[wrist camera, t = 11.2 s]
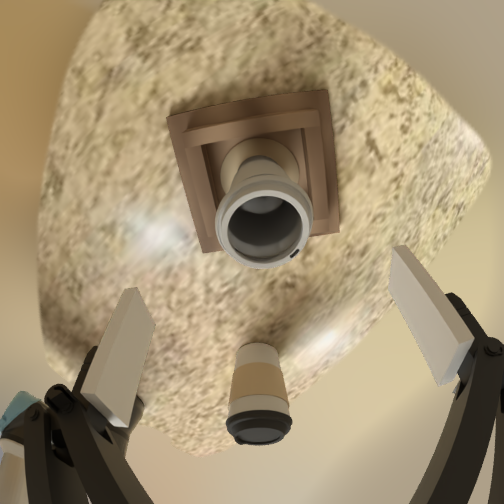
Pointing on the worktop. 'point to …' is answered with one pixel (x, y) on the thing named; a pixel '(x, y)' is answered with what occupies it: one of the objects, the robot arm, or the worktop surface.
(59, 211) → the worktop surface
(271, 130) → the holder
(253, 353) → the coffee cup
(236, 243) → the cup
